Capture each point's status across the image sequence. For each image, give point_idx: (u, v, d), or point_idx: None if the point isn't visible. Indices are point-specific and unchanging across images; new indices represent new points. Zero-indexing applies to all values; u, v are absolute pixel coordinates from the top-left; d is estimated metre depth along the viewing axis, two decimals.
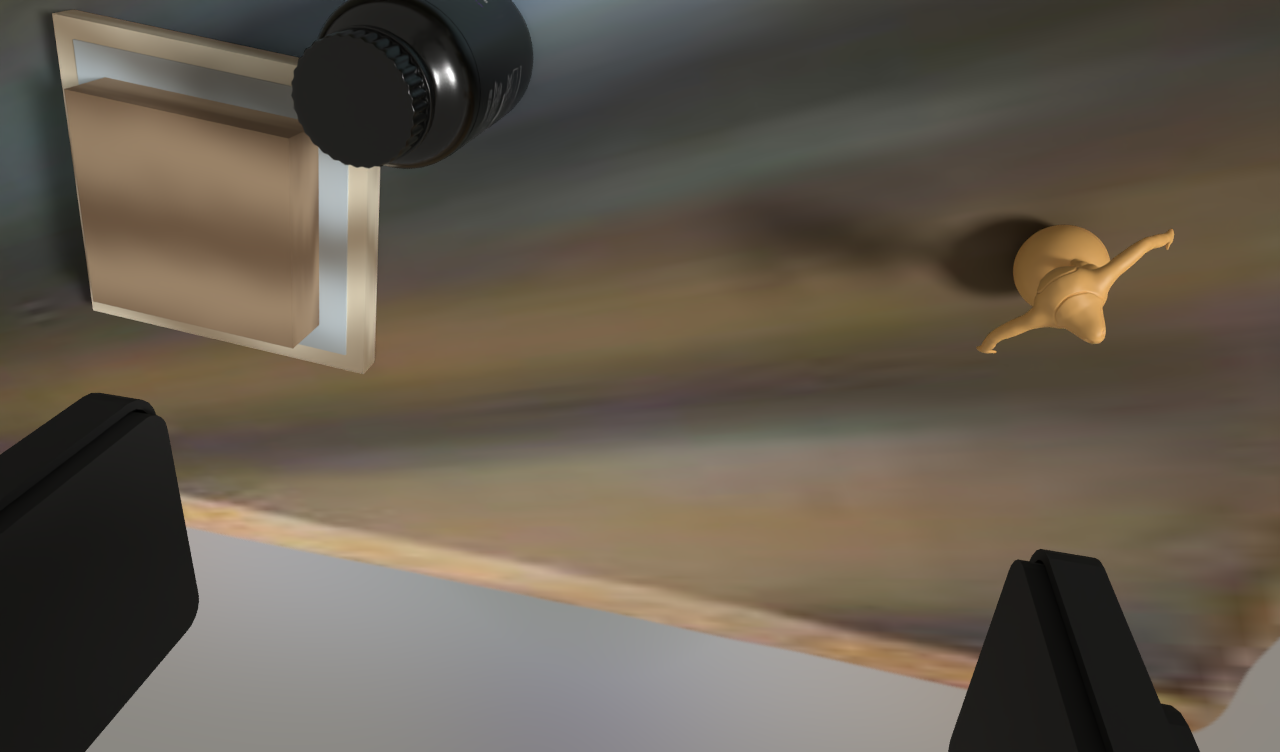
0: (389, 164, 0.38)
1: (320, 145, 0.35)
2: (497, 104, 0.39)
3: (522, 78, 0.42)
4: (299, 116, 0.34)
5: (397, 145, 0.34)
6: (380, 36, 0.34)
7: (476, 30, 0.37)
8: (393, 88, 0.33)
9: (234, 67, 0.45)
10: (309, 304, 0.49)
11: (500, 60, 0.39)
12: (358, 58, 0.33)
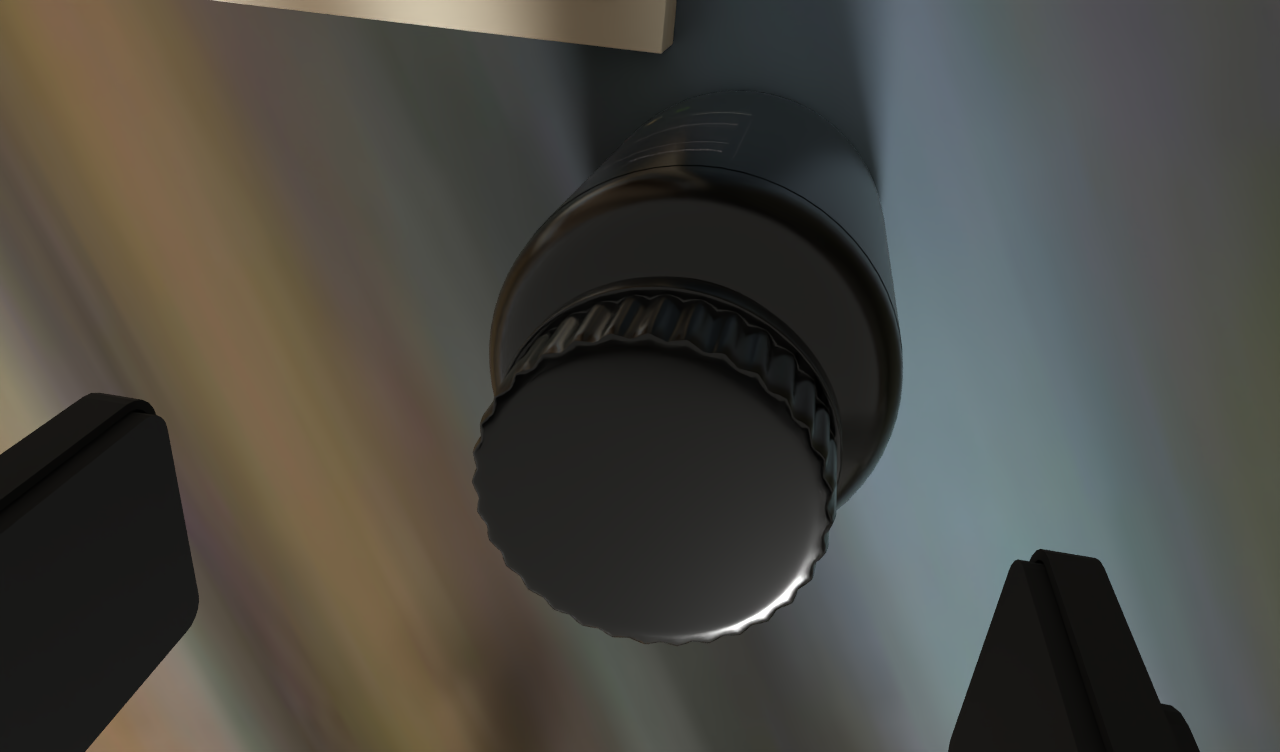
0: (495, 374, 0.15)
1: (514, 398, 0.12)
2: None
3: None
4: (588, 349, 0.11)
5: (552, 595, 0.13)
6: None
7: None
8: (699, 611, 0.13)
9: None
10: None
11: None
12: (771, 541, 0.12)
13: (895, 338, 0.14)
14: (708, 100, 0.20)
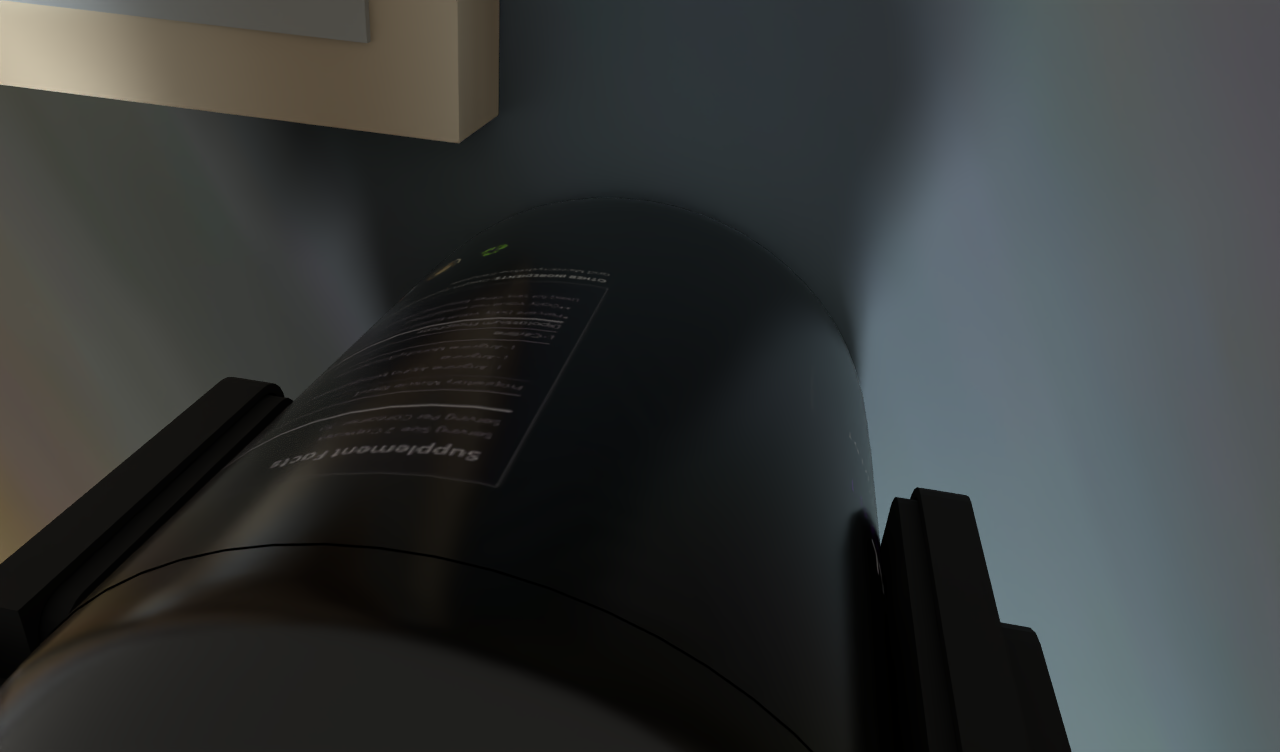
0: None
1: None
2: None
3: None
4: None
5: None
6: None
7: None
8: None
9: None
10: None
11: None
12: None
13: None
14: (545, 229, 0.11)
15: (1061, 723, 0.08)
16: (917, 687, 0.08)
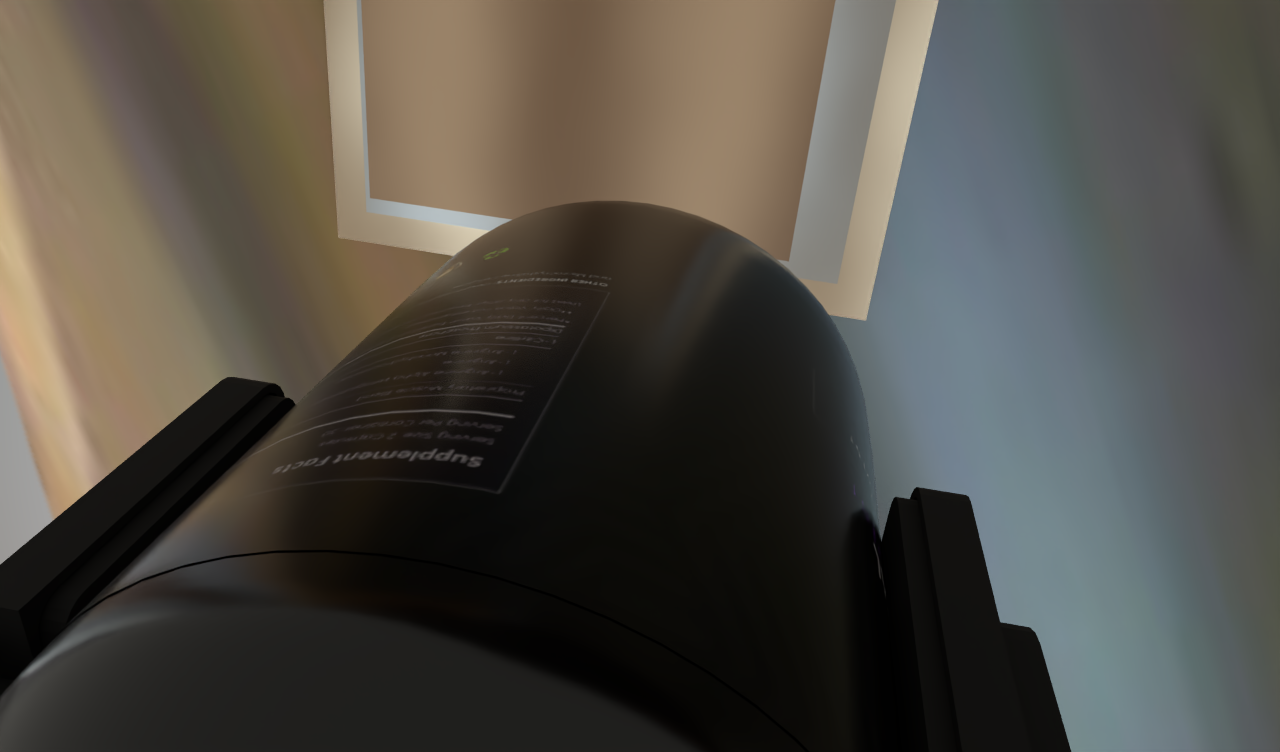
0: None
1: None
2: None
3: None
4: None
5: None
6: None
7: None
8: None
9: (893, 74, 0.24)
10: None
11: None
12: None
13: None
14: (546, 232, 0.11)
15: (1061, 723, 0.08)
16: (917, 687, 0.08)
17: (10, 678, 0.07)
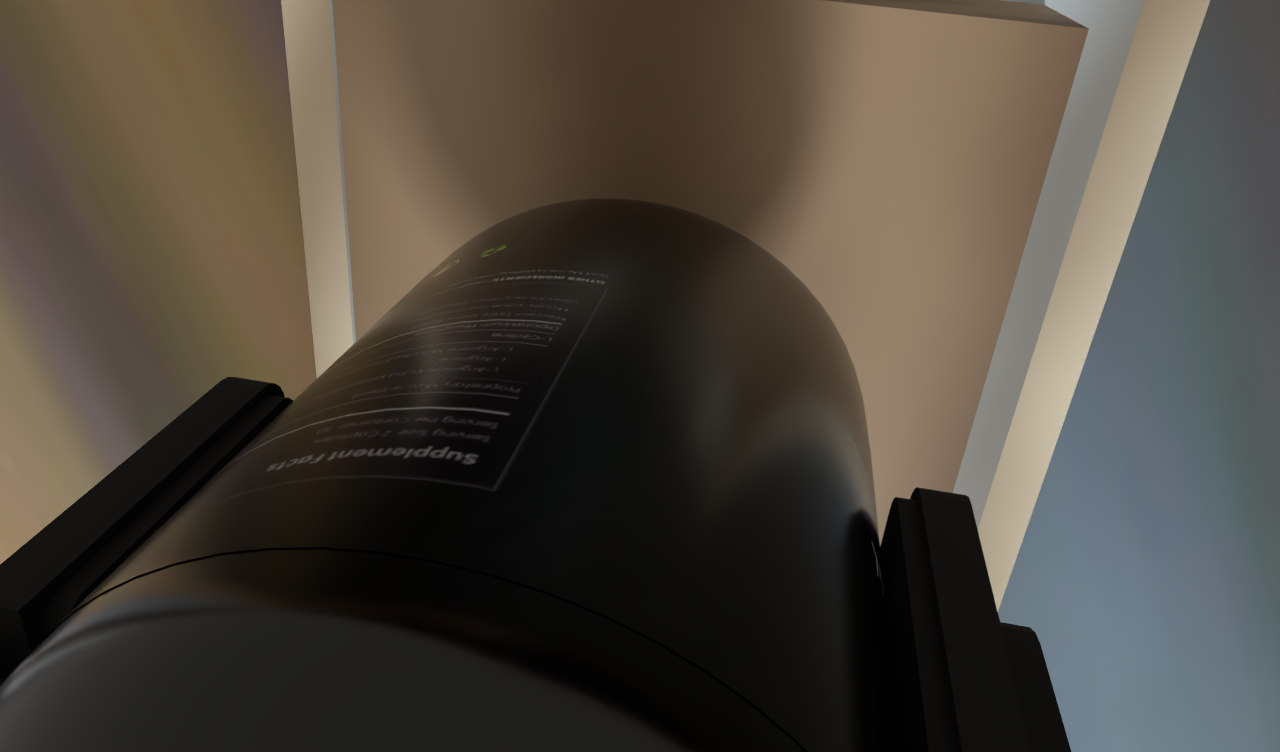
0: None
1: None
2: None
3: None
4: None
5: None
6: None
7: None
8: None
9: (1040, 379, 0.18)
10: None
11: None
12: None
13: None
14: (544, 230, 0.11)
15: (1061, 723, 0.08)
16: (917, 687, 0.07)
17: None
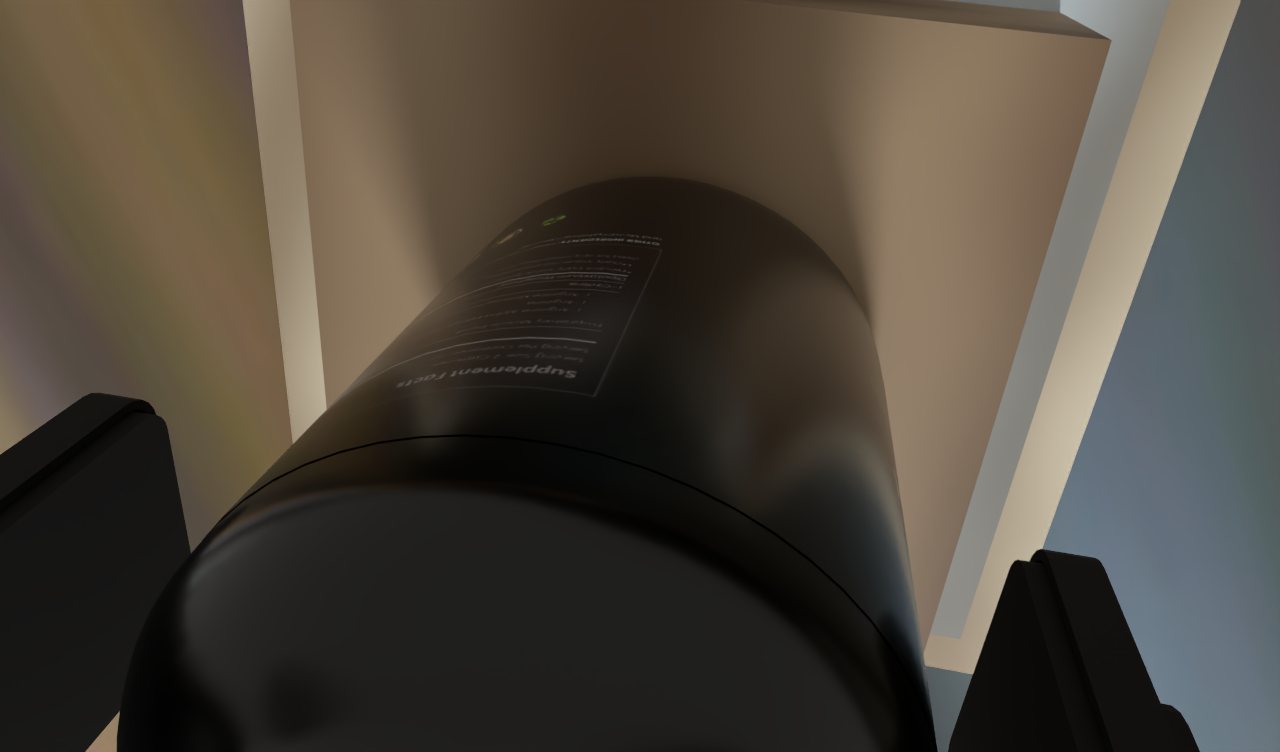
0: None
1: None
2: None
3: None
4: None
5: None
6: None
7: None
8: None
9: (1052, 408, 0.17)
10: None
11: None
12: None
13: None
14: (598, 202, 0.12)
15: None
16: None
17: None
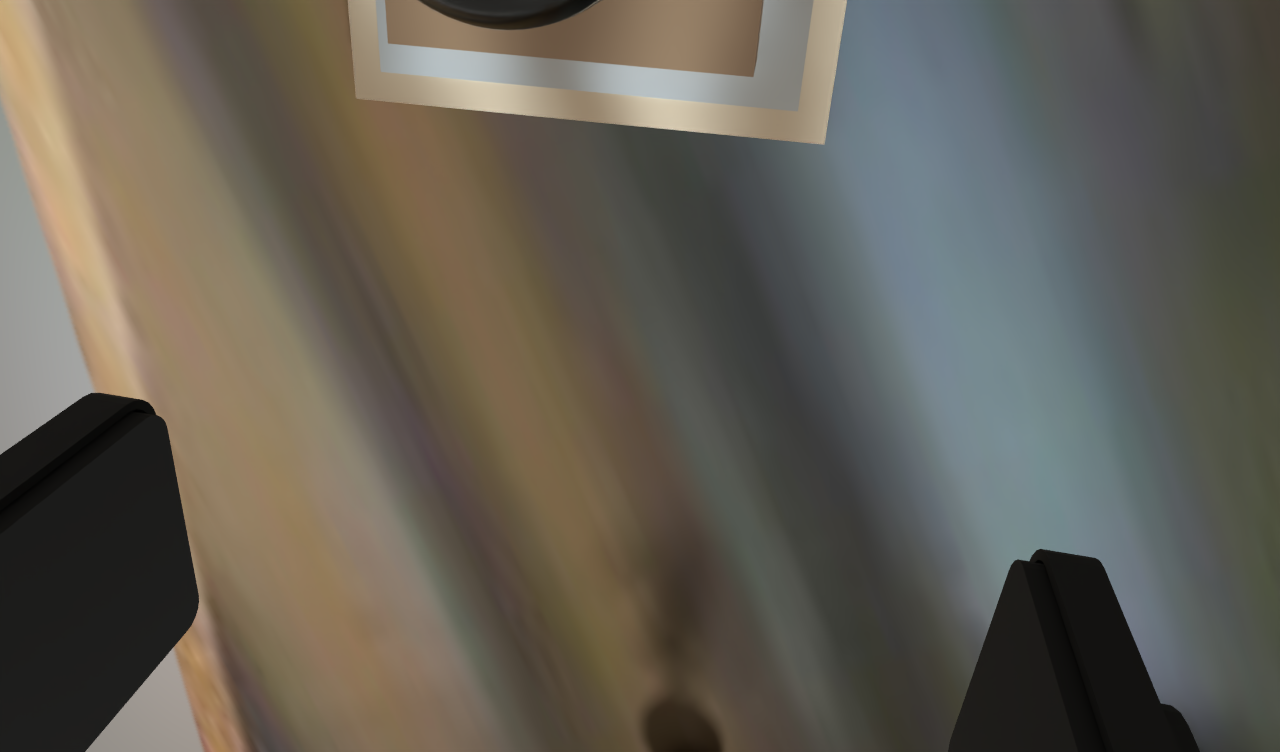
0: None
1: None
2: None
3: None
4: None
5: None
6: None
7: None
8: None
9: None
10: None
11: None
12: None
13: None
14: None
15: None
16: None
17: None
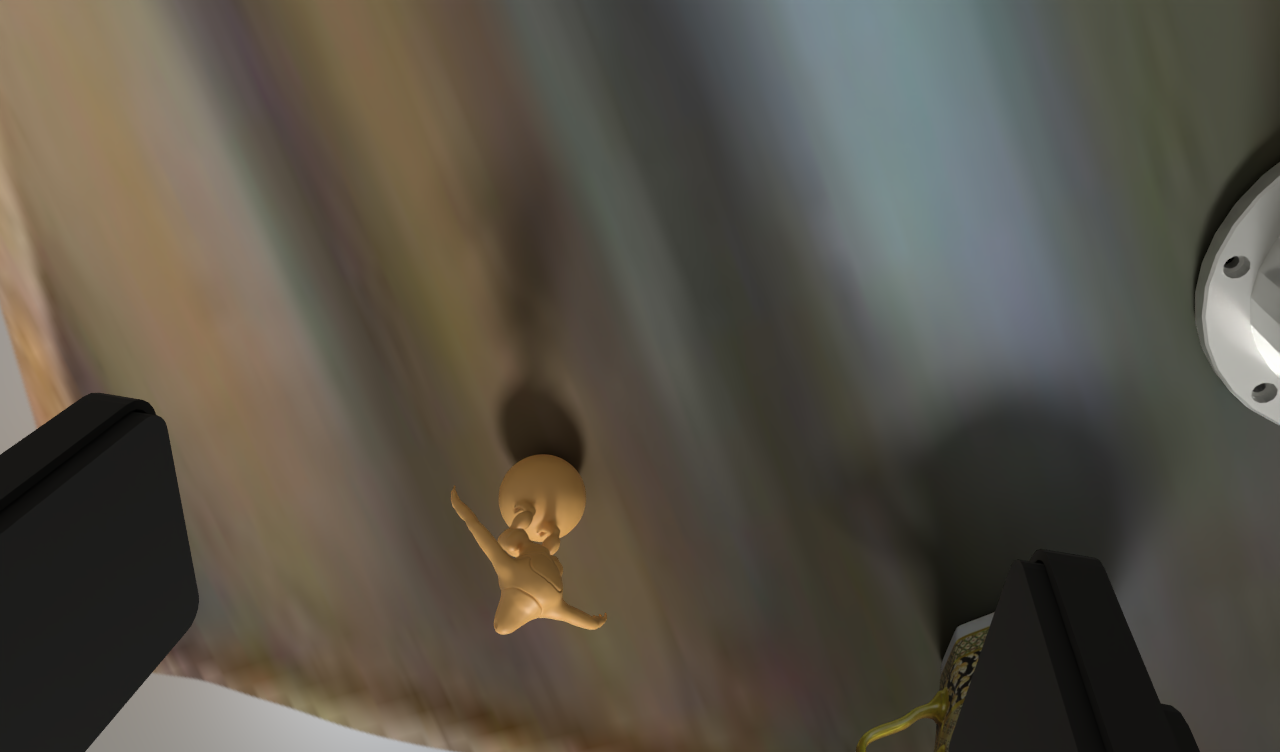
0: None
1: None
2: None
3: None
4: None
5: None
6: None
7: None
8: None
9: None
10: None
11: None
12: None
13: None
14: None
15: None
16: None
17: None
